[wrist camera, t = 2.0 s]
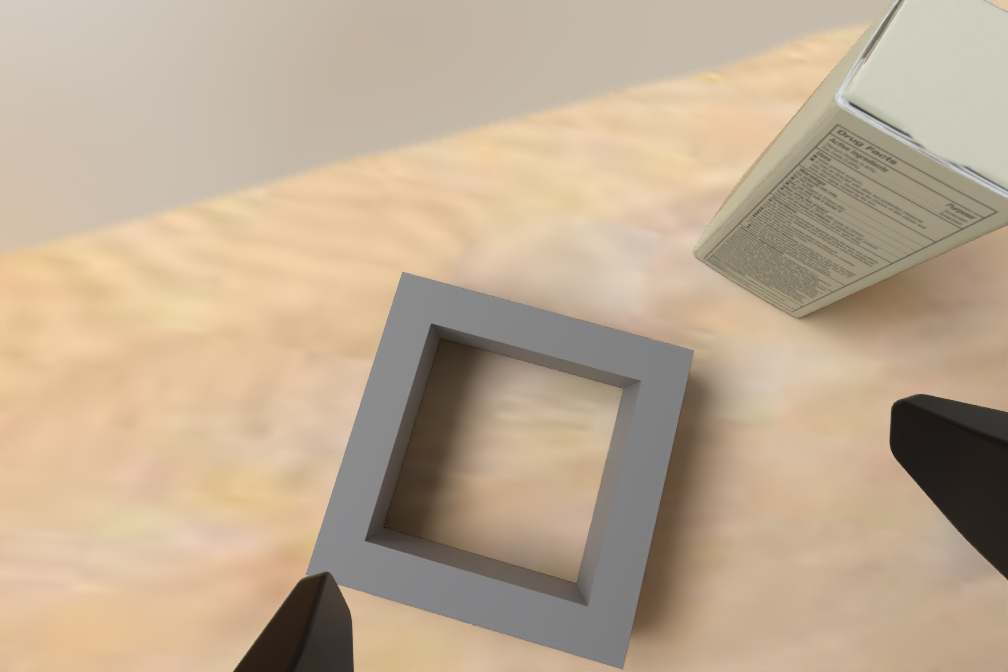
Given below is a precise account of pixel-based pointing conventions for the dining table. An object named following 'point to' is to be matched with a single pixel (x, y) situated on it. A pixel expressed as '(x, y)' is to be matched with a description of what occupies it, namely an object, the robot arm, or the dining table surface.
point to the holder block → (477, 579)
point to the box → (877, 162)
